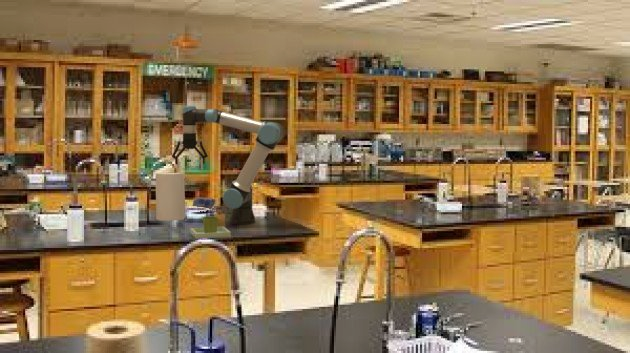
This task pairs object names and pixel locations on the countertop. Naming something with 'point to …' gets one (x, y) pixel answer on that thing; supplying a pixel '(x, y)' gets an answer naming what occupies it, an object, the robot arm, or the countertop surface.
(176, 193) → the cylinder
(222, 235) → the tray
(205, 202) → the mineral
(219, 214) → the reagent bottle
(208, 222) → the plant pot
